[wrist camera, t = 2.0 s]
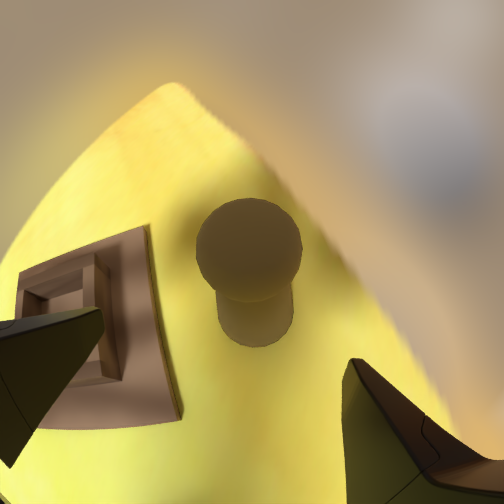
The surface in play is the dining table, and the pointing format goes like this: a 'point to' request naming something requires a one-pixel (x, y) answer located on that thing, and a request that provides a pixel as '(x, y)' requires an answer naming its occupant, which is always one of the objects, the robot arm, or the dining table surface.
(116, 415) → the holder board
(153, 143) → the dining table surface
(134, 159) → the dining table surface
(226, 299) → the cork
